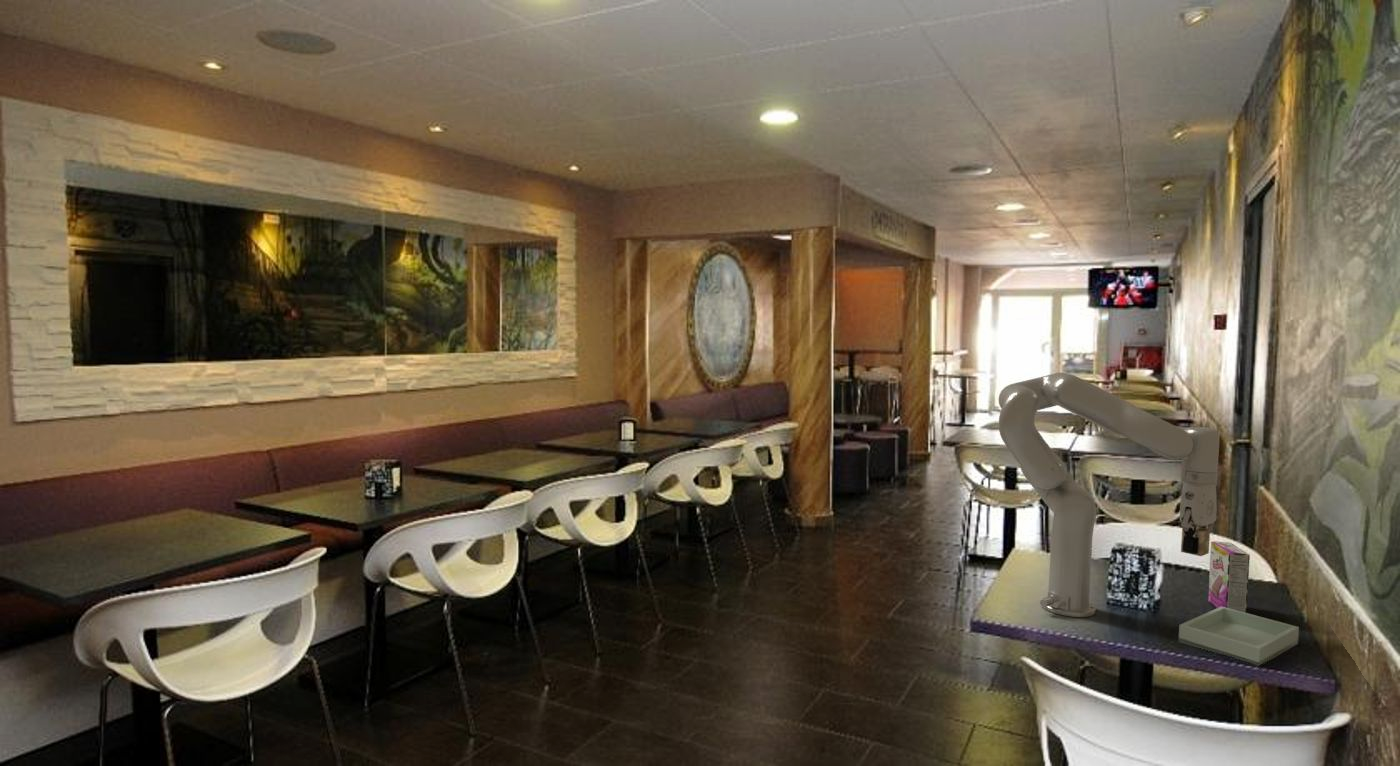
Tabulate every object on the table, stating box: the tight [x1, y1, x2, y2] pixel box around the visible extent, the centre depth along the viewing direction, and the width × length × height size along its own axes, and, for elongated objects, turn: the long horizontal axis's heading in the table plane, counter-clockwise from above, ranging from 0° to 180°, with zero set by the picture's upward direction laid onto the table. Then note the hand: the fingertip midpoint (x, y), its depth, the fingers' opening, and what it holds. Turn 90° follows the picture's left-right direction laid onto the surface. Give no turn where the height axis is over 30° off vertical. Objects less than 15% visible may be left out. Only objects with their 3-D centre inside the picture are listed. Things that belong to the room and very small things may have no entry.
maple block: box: [1180, 526, 1211, 557], centre depth 196 cm, size 4×4×6 cm
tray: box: [1178, 606, 1300, 667], centre depth 183 cm, size 22×16×4 cm
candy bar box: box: [1207, 540, 1251, 613], centre depth 204 cm, size 11×5×16 cm, turn 168°
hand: (1194, 550), depth 196 cm, fingers closed on maple block, 4 cm apart
